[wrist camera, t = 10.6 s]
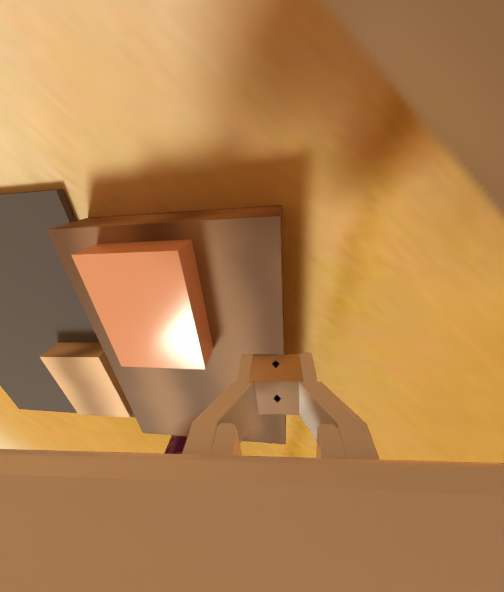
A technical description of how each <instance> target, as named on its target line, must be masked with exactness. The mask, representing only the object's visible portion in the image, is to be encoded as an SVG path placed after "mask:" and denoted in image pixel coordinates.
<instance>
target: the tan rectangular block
mask: <svg viewBox="0 0 504 592" xmlns="http://www.w3.org/2000/svg"><path fill="white" fill-rule="evenodd" d="M40 358H41V360H42V361H43V363H44V364H45V366H46V367H47V369H48V370H49V372H50V373H51V375H52V376H53V377H54V379H55V380H56V382H57V383H58V385H59V386H60V388H61V389H62V391H63V392H64V394H65V395H66V397H67V398H68V400H69V401H70V402H71V404H72V405H73V407H74V408H75V410H76V411H77V413H78V414H79V415H97V416H116V417H131V415H132V414H133V411H132V409H131V407H130V405H129V402H128V400H127V398H126V396H125V394H124V392H123V390H122V388H121V386H120V384H119V382H118V379H117V377H116V375H115V373H114V371H113V369H112V367H111V365H110V363H109V361H108V359H107V356H106V354H105V352H104V350H103V348H102V346H101V344H100V342H81V343H57V344H55V345H54V346H53V347H52V348H50V349H49V350H48V351H46V352H45V353H44V354H43V355H41V356H40Z"/></svg>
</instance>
